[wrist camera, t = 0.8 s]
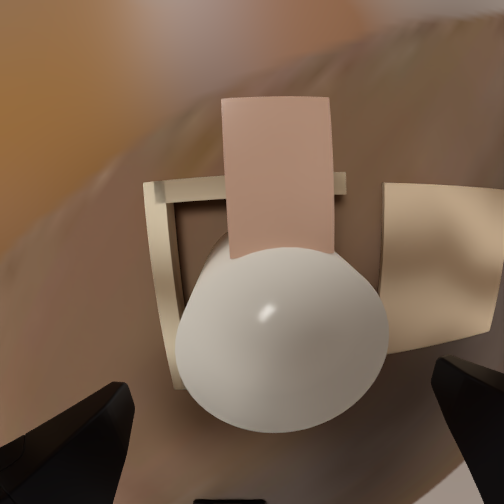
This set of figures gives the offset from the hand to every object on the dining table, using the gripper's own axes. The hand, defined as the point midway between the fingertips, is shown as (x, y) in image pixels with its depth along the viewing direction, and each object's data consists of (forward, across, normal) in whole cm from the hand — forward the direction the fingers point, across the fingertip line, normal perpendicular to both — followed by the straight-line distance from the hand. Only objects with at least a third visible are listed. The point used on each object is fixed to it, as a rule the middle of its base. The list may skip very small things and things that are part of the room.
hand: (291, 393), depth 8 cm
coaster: (+8, -11, 0) cm, 14 cm away
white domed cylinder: (+9, 0, -2) cm, 9 cm away
